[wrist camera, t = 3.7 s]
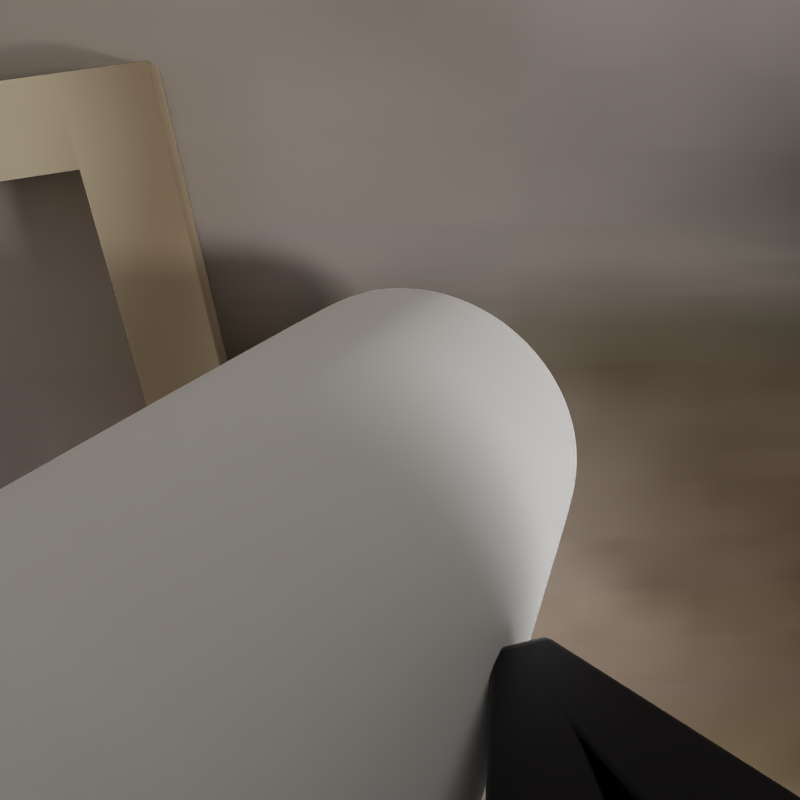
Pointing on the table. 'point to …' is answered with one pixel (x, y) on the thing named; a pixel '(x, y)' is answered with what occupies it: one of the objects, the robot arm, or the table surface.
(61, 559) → the can
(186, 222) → the cradle
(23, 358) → the table surface
